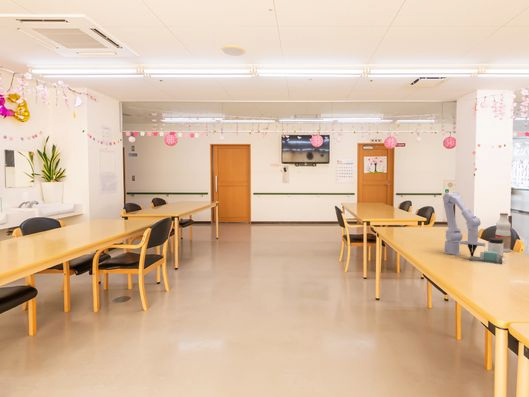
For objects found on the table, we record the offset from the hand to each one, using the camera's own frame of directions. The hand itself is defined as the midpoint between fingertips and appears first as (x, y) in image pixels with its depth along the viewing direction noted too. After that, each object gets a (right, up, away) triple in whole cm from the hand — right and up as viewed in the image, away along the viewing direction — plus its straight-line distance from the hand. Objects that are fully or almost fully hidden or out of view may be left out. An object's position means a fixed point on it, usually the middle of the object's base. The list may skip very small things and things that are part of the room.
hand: (472, 255), depth 233 cm
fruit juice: (+37, 0, +23) cm, 43 cm away
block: (+8, -2, -6) cm, 10 cm away
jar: (+21, -2, +8) cm, 23 cm away
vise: (+6, -3, -4) cm, 8 cm away
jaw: (+5, -1, -3) cm, 6 cm away
